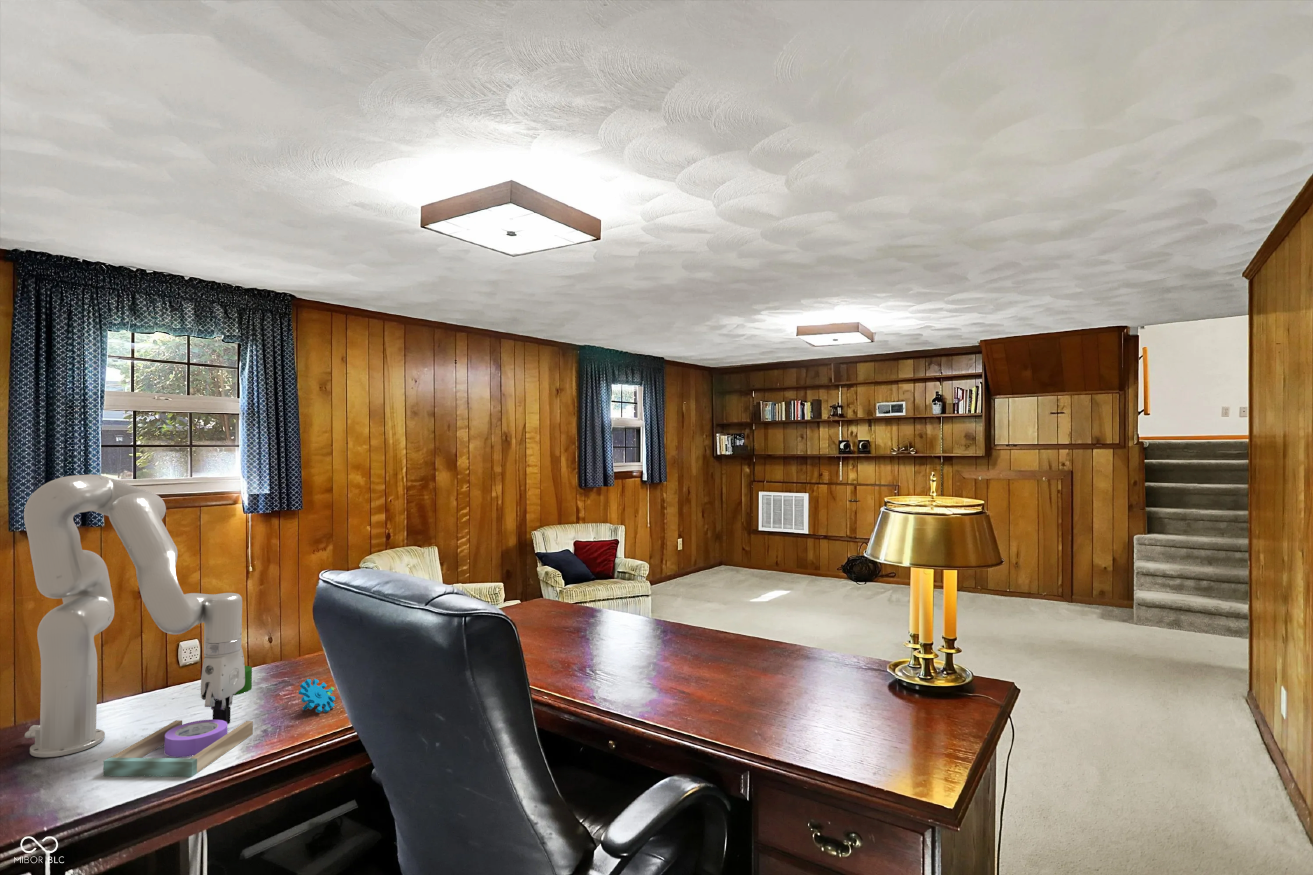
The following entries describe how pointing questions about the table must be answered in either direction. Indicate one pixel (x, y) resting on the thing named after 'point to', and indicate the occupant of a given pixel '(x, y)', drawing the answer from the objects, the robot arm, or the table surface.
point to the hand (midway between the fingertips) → (221, 724)
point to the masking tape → (193, 737)
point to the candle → (246, 681)
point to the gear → (316, 695)
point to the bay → (135, 765)
